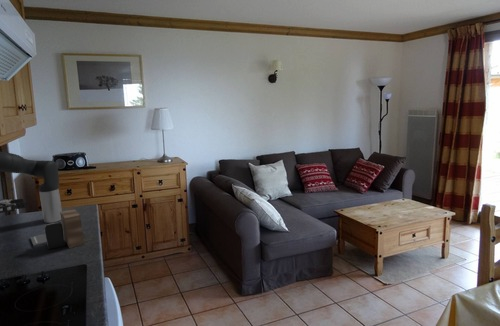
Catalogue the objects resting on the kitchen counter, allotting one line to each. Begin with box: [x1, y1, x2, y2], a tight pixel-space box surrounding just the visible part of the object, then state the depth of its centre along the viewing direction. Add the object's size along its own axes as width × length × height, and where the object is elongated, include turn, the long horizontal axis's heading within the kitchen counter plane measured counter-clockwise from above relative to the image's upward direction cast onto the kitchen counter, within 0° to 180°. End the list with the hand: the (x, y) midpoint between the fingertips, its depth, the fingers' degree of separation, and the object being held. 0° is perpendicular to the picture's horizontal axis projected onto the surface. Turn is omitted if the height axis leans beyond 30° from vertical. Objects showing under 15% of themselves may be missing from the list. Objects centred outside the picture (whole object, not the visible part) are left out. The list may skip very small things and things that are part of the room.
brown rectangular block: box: [60, 208, 85, 249], centre depth 158 cm, size 12×6×14 cm, turn 38°
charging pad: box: [30, 233, 47, 248], centre depth 164 cm, size 12×12×1 cm
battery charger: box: [44, 221, 66, 250], centre depth 154 cm, size 7×4×11 cm, turn 119°
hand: (25, 202), depth 145 cm, fingers open, 8 cm apart
